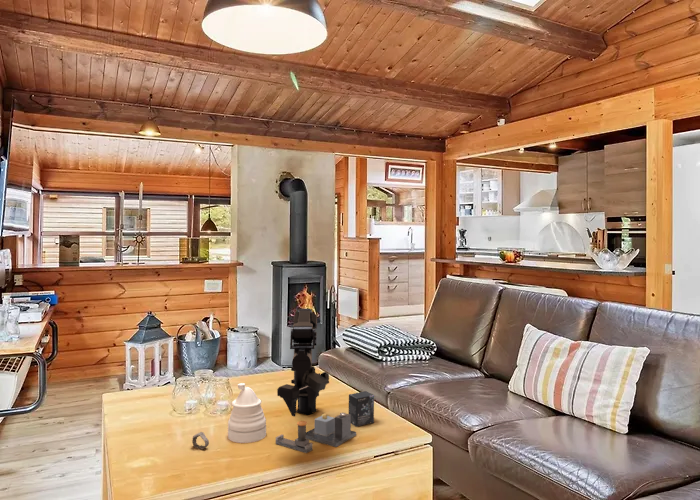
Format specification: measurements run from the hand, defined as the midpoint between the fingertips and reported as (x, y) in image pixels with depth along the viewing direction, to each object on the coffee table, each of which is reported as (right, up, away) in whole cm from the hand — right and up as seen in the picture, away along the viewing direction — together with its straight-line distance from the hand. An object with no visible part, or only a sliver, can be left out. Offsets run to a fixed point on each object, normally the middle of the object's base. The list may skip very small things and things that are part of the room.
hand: (302, 412), depth 166 cm
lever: (0, -10, -1) cm, 10 cm away
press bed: (+8, -11, +10) cm, 17 cm away
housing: (+7, -10, +11) cm, 16 cm away
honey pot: (-20, -12, +11) cm, 26 cm away
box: (+19, -11, +23) cm, 32 cm away
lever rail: (-3, -12, +1) cm, 12 cm away
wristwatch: (-33, -12, 0) cm, 35 cm away
